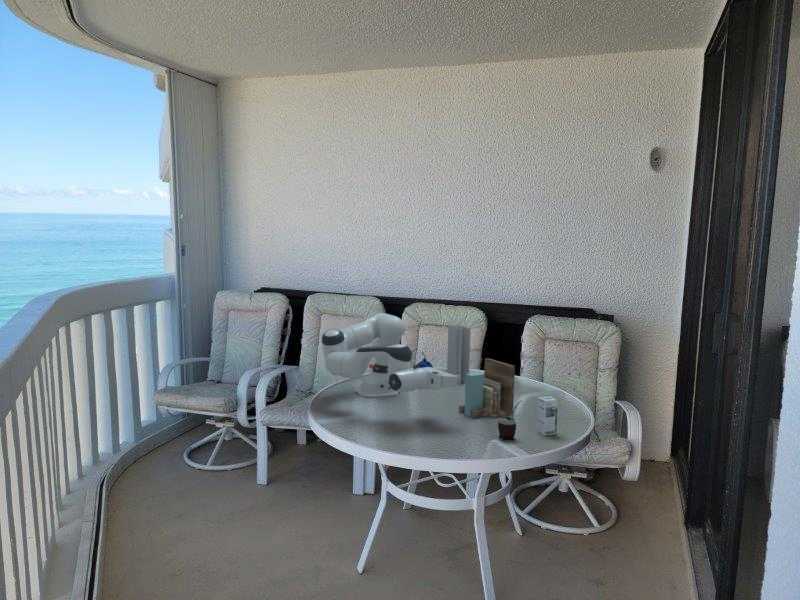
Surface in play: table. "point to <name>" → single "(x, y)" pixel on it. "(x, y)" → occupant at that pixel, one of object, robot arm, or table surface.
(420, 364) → the bomb
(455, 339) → the brochure
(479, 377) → the light blue tall block
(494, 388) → the offcut stack
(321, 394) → the table surface
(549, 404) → the syrup box
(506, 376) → the offcut rack
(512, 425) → the mate gourd
